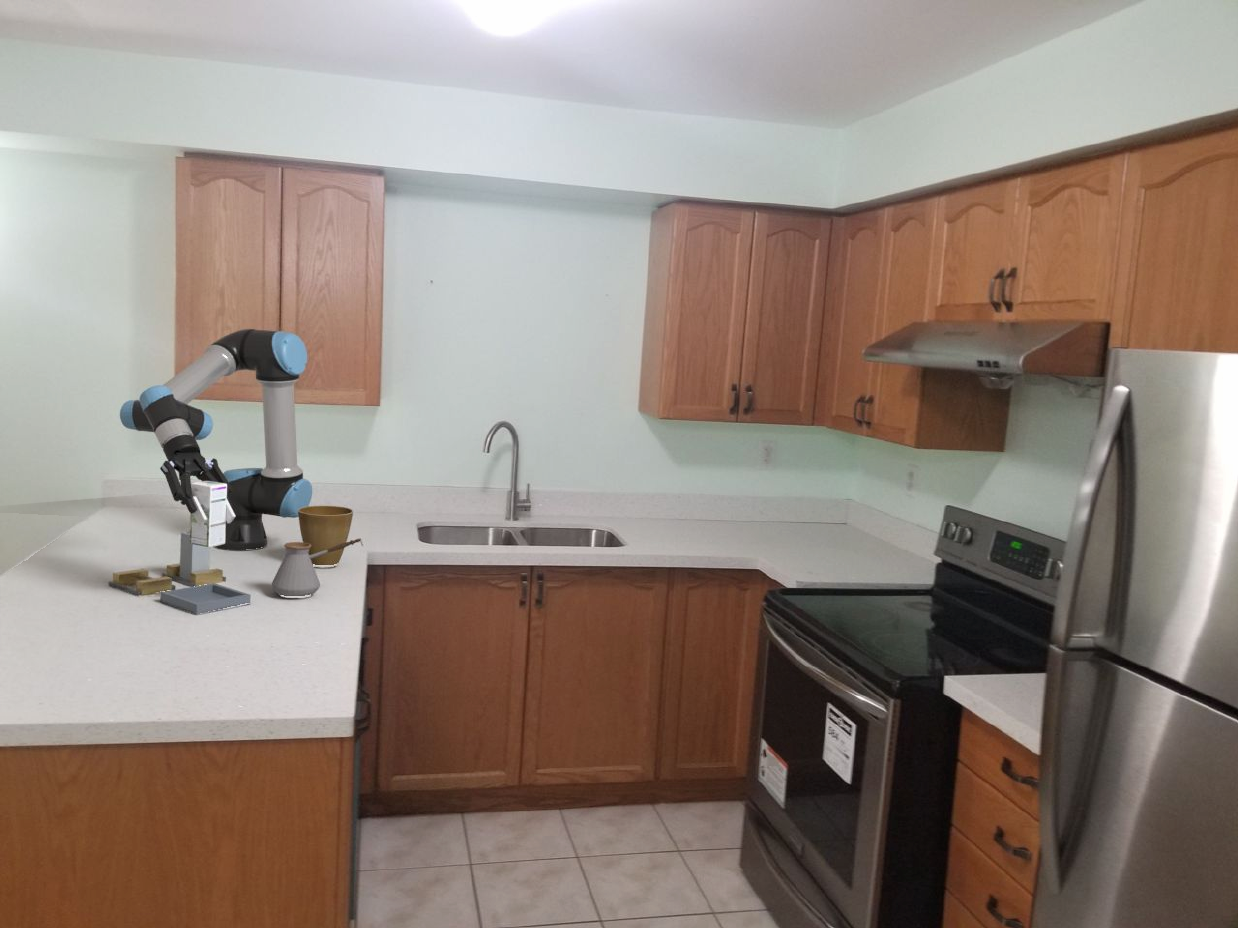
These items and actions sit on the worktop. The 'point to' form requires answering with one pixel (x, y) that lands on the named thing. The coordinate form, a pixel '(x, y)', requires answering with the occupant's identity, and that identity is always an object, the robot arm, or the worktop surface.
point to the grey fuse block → (192, 557)
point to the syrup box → (209, 514)
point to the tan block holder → (140, 582)
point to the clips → (194, 576)
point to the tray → (204, 598)
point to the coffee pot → (300, 569)
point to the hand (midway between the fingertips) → (217, 521)
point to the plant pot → (325, 531)
